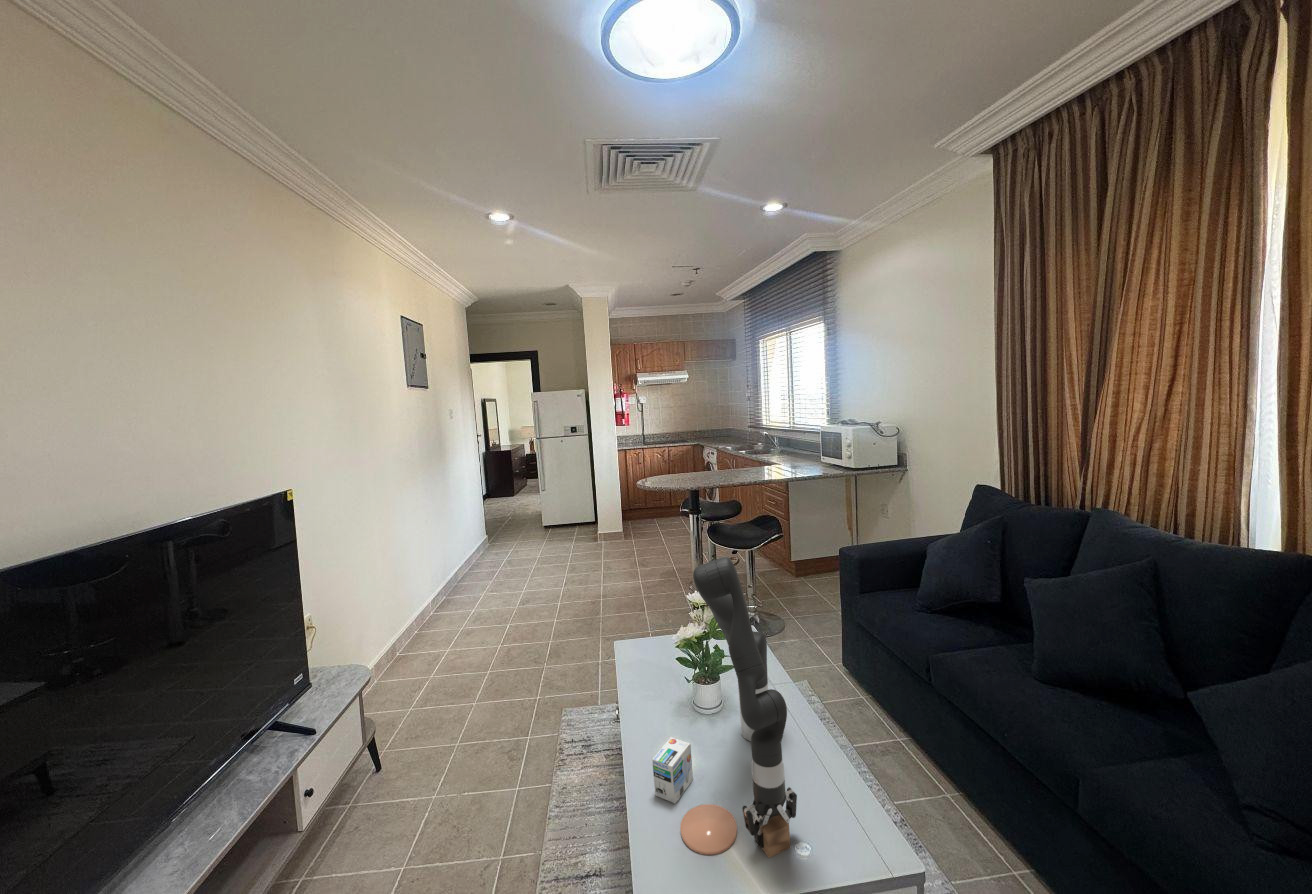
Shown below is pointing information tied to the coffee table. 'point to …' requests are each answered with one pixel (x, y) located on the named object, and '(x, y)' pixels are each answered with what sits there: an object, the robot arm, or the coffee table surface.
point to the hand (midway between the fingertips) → (772, 839)
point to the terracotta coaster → (708, 829)
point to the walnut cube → (776, 836)
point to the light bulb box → (672, 769)
